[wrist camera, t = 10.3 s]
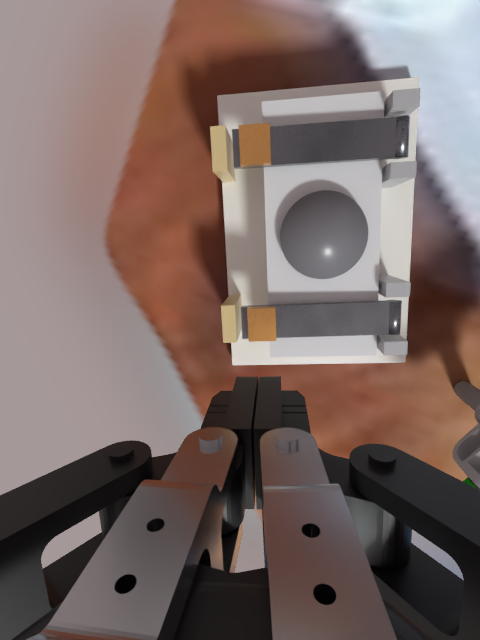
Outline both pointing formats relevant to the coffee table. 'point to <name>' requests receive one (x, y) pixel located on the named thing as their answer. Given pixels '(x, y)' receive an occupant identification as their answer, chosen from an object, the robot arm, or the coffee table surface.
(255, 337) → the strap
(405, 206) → the base
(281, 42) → the coffee table surface
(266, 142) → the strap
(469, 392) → the mechanical component
